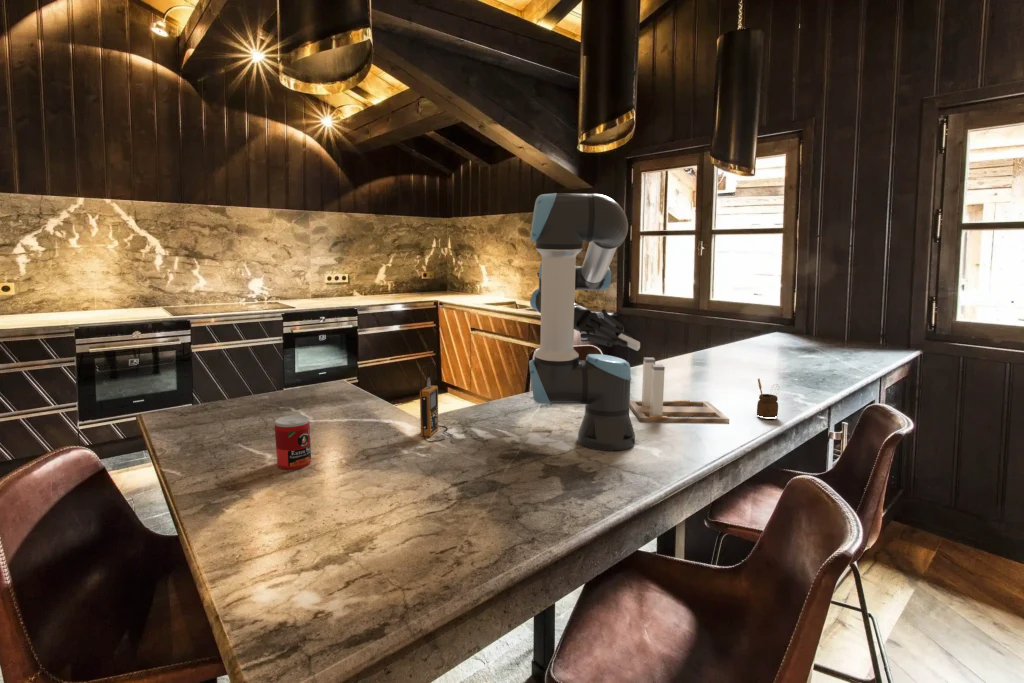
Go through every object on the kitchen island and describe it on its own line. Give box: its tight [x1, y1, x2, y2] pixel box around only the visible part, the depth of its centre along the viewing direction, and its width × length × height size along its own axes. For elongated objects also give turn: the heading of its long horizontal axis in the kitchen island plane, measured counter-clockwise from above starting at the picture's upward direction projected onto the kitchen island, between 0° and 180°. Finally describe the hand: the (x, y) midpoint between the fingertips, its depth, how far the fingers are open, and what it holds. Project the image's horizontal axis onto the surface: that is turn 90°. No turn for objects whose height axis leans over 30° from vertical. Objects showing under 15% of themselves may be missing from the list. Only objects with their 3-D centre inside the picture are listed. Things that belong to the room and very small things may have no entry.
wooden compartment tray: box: [629, 399, 730, 425], centre depth 178 cm, size 26×20×3 cm
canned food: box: [274, 414, 312, 471], centre depth 136 cm, size 8×8×11 cm
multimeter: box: [419, 361, 457, 443], centre depth 159 cm, size 15×10×20 cm
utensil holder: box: [756, 378, 780, 417], centre depth 177 cm, size 6×6×12 cm
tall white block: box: [641, 356, 656, 406], centre depth 183 cm, size 3×4×16 cm
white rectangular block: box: [649, 364, 666, 417], centre depth 171 cm, size 3×4×16 cm
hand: (638, 346), depth 169 cm, fingers closed
